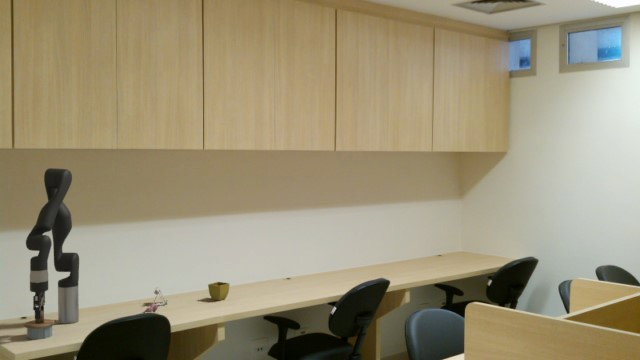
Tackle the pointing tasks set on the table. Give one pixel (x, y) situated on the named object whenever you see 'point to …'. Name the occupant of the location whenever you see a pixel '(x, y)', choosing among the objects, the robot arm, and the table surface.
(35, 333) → the bowl
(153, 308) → the video game controller
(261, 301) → the table surface
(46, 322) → the lid
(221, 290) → the flower pot
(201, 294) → the table surface
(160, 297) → the portable electronic device stand
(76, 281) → the robot arm
